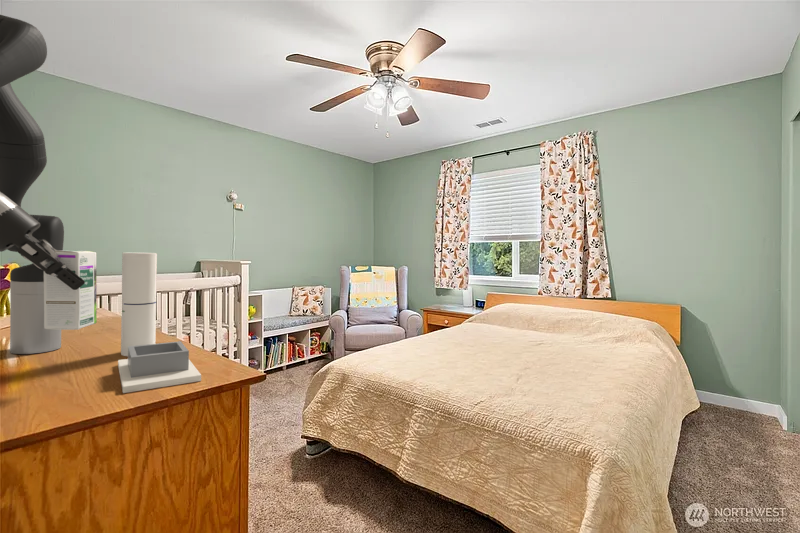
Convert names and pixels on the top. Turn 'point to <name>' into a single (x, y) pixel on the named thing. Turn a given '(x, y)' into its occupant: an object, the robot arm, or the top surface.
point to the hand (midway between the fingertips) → (81, 284)
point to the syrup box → (71, 293)
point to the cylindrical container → (138, 299)
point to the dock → (156, 367)
